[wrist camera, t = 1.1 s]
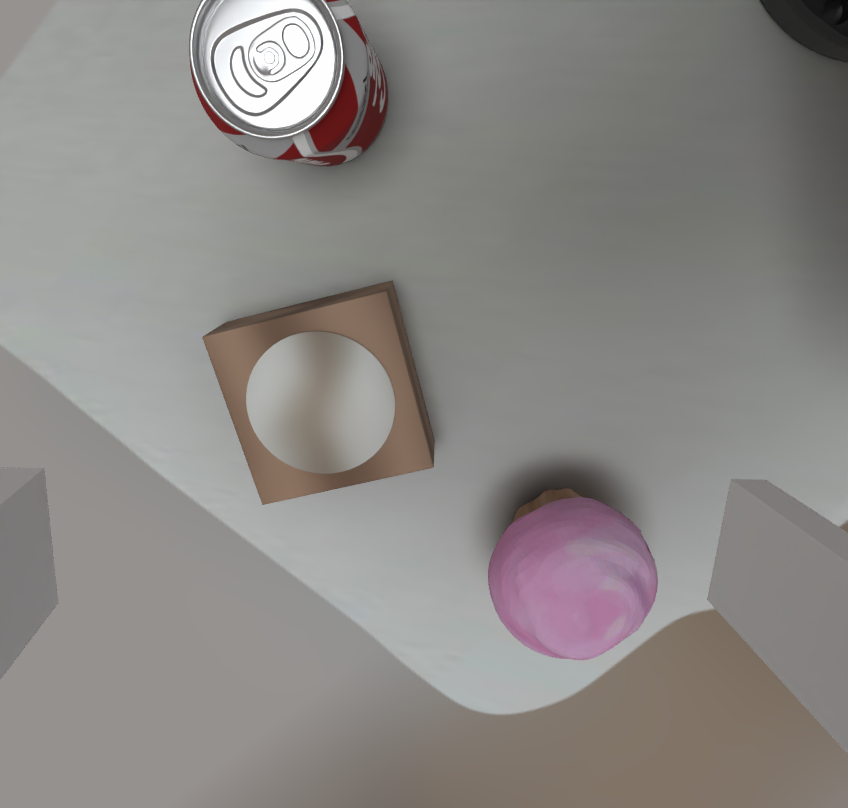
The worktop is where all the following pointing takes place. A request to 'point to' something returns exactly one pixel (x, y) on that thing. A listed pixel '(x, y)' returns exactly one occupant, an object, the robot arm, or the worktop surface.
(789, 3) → the robot arm
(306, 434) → the plinth
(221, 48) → the soda can
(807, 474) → the worktop surface
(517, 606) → the cupcake
